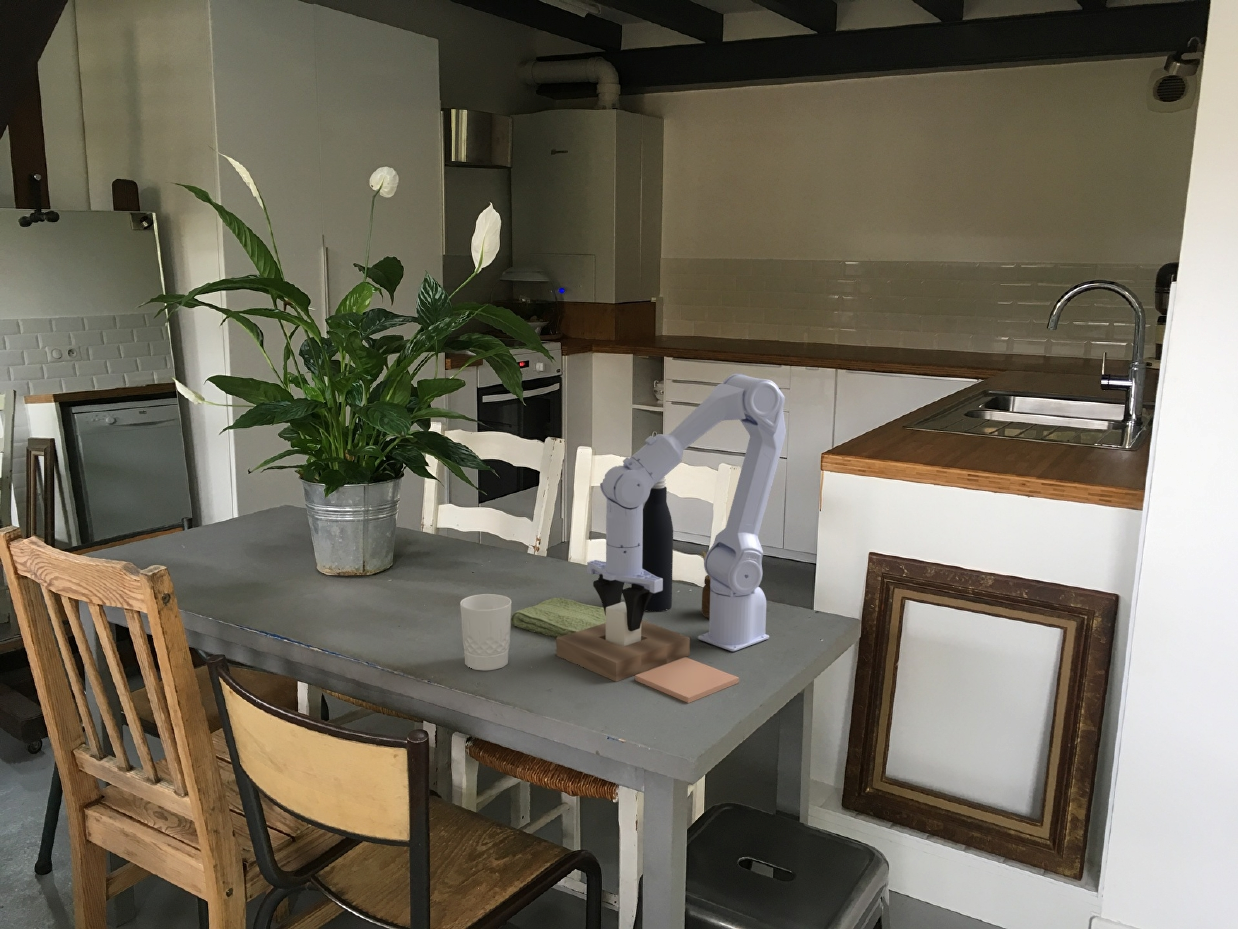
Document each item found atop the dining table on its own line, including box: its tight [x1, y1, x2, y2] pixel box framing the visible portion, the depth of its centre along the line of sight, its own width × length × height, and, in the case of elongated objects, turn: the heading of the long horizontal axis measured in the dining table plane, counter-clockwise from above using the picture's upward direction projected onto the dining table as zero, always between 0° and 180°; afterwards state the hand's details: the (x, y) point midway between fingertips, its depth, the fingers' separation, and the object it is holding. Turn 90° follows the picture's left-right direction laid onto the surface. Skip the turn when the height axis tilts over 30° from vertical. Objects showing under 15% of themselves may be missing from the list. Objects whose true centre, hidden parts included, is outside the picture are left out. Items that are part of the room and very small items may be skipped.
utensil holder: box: [701, 551, 711, 619], centre depth 184 cm, size 6×6×12 cm
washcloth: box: [511, 597, 606, 638], centre depth 179 cm, size 13×18×3 cm
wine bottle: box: [642, 476, 674, 612], centre depth 187 cm, size 6×6×30 cm
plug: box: [606, 601, 641, 647], centre depth 165 cm, size 4×4×7 cm
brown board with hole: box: [555, 619, 691, 682], centre depth 165 cm, size 16×14×3 cm
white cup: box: [459, 593, 512, 671], centre depth 161 cm, size 8×8×10 cm
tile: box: [634, 656, 740, 704], centre depth 156 cm, size 11×11×1 cm
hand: (623, 625), depth 165 cm, fingers closed on plug, 4 cm apart
